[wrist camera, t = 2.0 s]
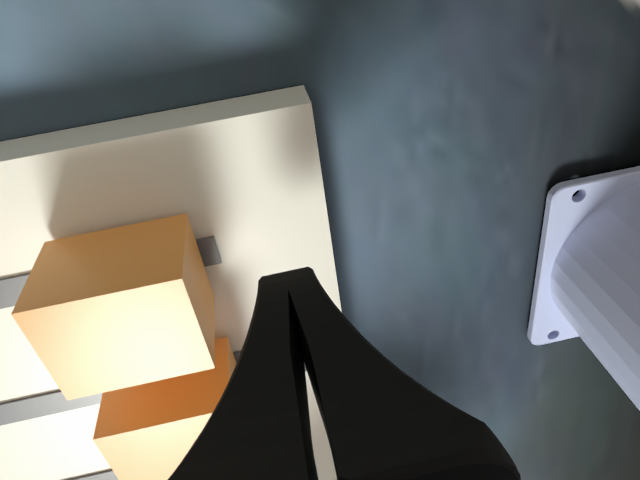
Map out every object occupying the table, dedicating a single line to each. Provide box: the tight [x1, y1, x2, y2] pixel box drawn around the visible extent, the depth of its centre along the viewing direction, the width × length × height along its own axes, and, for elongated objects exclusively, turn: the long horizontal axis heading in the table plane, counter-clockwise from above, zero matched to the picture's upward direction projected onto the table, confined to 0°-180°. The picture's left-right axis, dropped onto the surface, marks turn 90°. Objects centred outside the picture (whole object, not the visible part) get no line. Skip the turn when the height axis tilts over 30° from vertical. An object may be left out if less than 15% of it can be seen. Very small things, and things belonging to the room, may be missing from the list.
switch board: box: [0, 85, 342, 480], centre depth 19 cm, size 20×18×2 cm
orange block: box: [11, 213, 215, 400], centre depth 14 cm, size 4×3×3 cm
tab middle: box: [93, 336, 236, 480], centre depth 17 cm, size 4×3×3 cm
